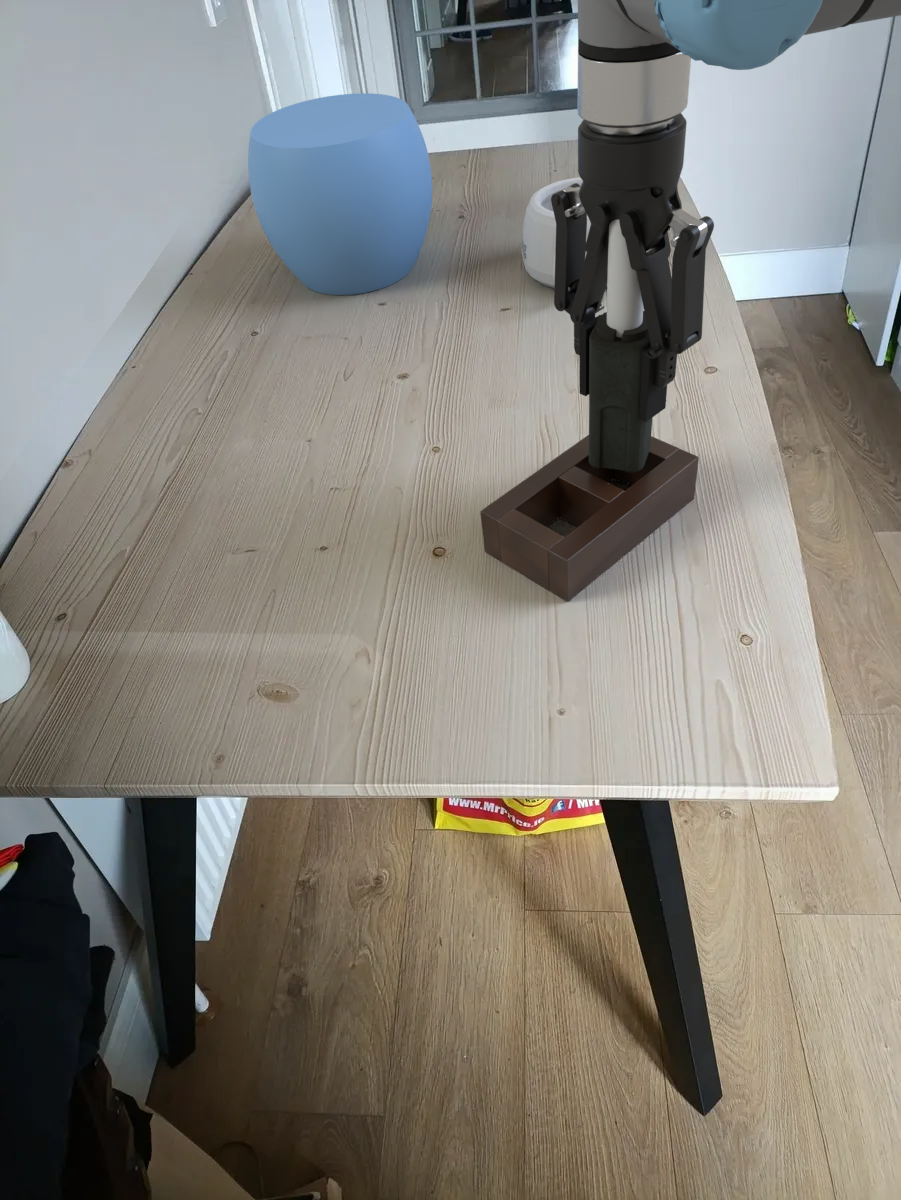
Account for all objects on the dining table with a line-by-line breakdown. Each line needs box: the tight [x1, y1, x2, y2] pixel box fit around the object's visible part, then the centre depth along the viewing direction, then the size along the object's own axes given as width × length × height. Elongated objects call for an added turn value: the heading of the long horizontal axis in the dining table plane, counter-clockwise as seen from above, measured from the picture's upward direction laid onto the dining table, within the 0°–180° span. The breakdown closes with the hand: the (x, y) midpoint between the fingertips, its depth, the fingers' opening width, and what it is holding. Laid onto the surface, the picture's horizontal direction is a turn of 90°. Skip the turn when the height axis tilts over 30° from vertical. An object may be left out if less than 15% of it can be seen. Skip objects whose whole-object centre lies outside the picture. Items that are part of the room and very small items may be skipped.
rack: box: [480, 434, 700, 603], centre depth 82 cm, size 10×19×5 cm, turn 134°
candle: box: [588, 220, 653, 473], centre depth 73 cm, size 5×5×25 cm
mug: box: [521, 176, 607, 289], centre depth 117 cm, size 21×17×10 cm
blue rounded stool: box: [247, 92, 433, 296], centre depth 123 cm, size 25×25×20 cm
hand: (621, 400), depth 78 cm, fingers closed on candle, 6 cm apart
